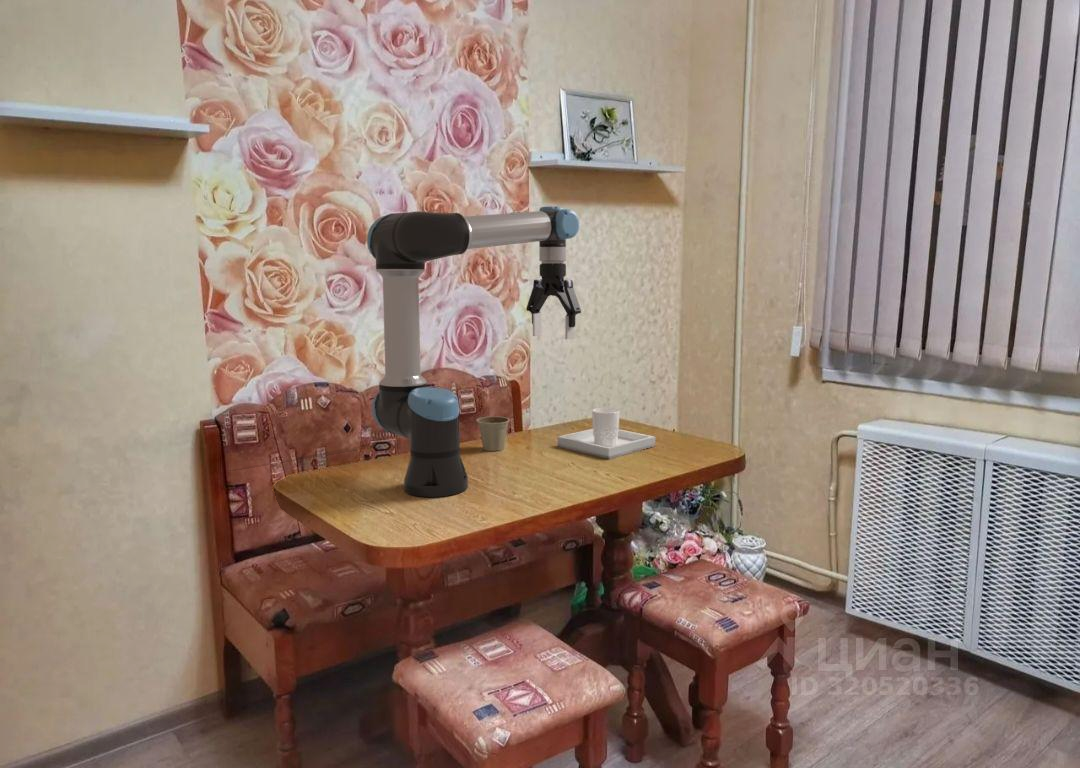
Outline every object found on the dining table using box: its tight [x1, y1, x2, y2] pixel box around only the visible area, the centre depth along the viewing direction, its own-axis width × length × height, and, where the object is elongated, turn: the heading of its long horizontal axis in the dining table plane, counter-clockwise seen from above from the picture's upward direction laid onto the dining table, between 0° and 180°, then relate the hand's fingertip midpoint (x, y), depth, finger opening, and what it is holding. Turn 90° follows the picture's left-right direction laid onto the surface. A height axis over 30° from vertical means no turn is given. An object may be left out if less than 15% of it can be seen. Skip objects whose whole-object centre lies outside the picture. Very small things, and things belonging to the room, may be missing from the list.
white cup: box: [591, 407, 621, 447], centre depth 215 cm, size 8×8×10 cm
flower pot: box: [476, 415, 511, 452], centre depth 214 cm, size 9×9×9 cm
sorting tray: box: [557, 428, 656, 460], centre depth 216 cm, size 20×20×3 cm
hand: (553, 337), depth 215 cm, fingers open, 13 cm apart
